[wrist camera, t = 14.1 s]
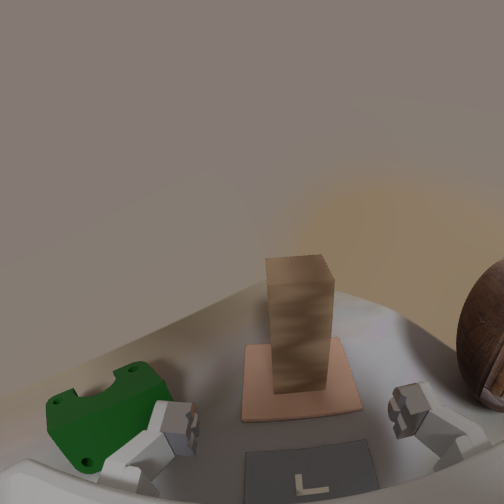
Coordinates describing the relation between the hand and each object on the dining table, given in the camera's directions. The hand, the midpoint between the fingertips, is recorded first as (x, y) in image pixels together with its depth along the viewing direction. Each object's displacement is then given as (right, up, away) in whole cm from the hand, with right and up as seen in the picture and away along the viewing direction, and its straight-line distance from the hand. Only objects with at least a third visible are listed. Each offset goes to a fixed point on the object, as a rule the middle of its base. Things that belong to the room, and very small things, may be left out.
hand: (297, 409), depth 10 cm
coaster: (+3, -7, +18) cm, 19 cm away
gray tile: (+3, -12, +5) cm, 13 cm away
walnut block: (+3, -6, +18) cm, 19 cm away
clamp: (-14, -11, +12) cm, 21 cm away
